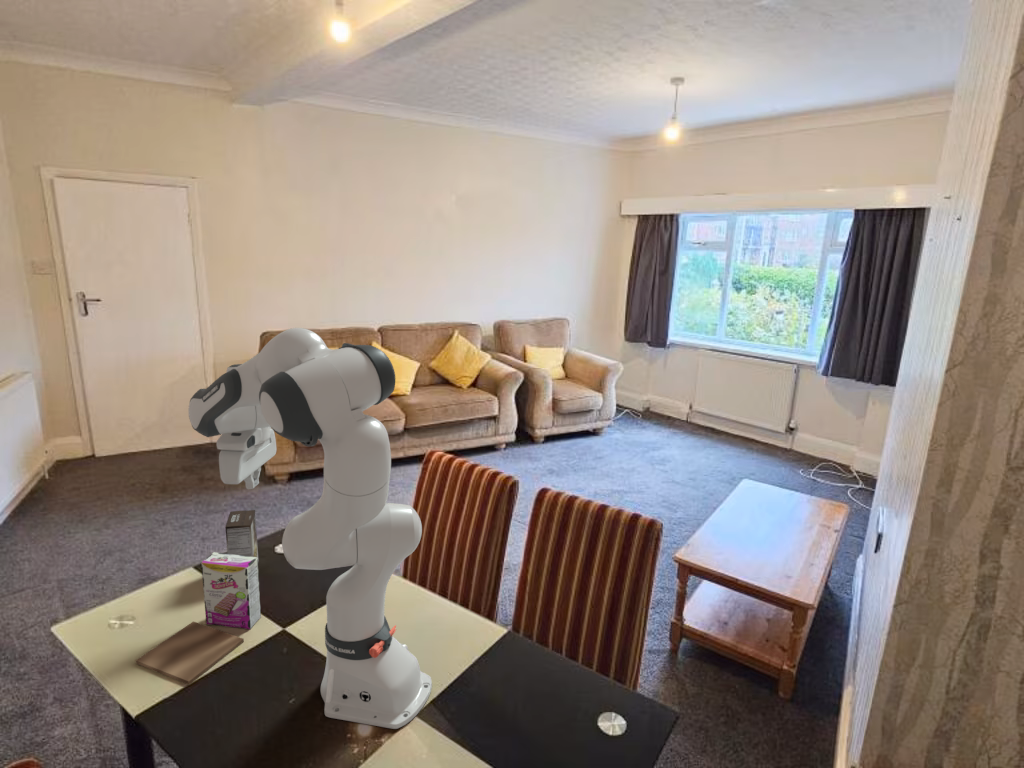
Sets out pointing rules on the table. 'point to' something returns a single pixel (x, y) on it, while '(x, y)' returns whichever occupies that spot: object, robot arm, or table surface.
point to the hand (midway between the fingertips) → (252, 486)
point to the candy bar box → (231, 590)
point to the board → (190, 652)
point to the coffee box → (242, 533)
